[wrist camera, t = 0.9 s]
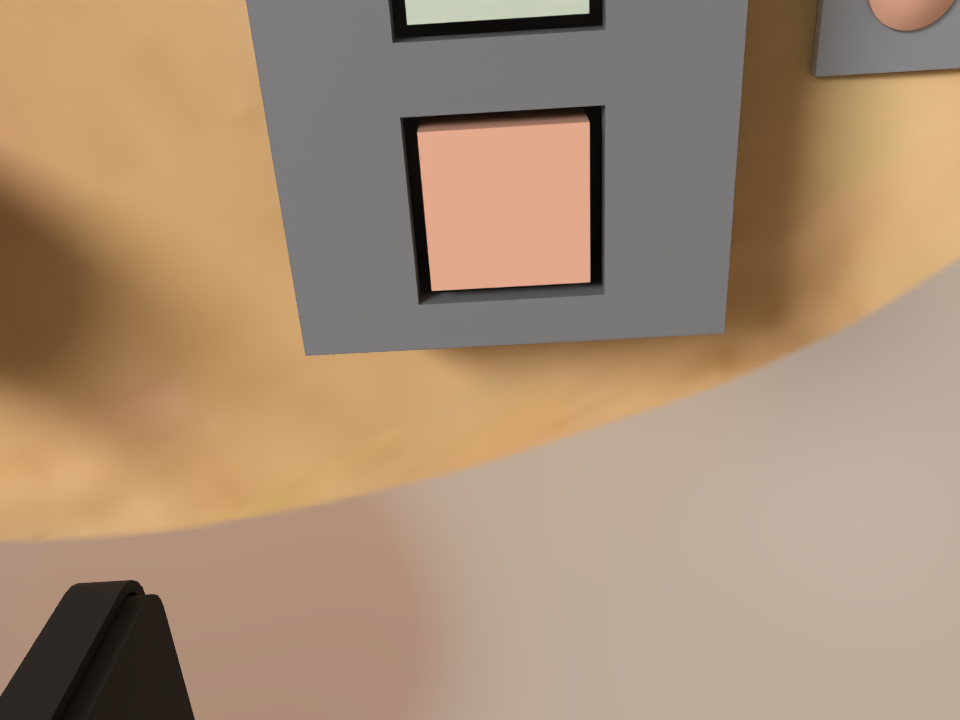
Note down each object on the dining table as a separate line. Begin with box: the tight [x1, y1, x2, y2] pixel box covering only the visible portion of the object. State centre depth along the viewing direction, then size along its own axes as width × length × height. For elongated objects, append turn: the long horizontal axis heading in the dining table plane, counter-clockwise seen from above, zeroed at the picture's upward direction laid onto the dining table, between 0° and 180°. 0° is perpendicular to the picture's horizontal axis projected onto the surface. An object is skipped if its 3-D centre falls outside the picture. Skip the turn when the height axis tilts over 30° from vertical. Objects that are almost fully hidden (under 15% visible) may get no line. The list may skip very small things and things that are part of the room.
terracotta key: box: [417, 107, 590, 291], centre depth 25 cm, size 4×4×2 cm
